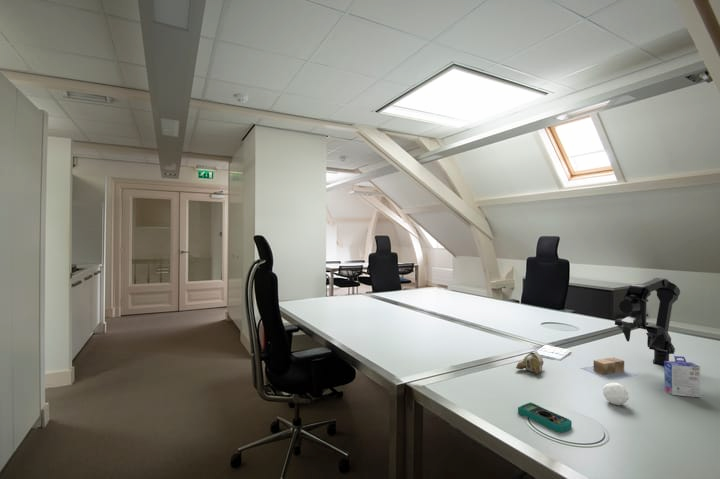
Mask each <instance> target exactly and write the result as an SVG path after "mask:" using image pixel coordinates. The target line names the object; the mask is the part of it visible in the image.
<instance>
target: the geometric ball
mask: <svg viewBox="0 0 720 479" xmlns="http://www.w3.org/2000/svg"><path fill="white" fill-rule="evenodd" d="M602 394H603V396H604V398H605V400H606V401H607V402H609V403H611V404H612V405H615V406H621V405H622V406H623V405H625V404H626V403H627V402H628V401H629V398H630V397H629V392H628V391H627V389H626V388H625V386H623V385H622V384H620V383H618V382H609V383H607V384H605V385H604V386H603V388H602Z"/></svg>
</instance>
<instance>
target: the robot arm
mask: <svg viewBox="0 0 720 479" xmlns="http://www.w3.org/2000/svg"><path fill="white" fill-rule="evenodd" d="M651 292H656V296H657V298H658V300H659V306H658V310H657V316H656V324H655V325H649V322H647V317H649V314H648V313H647V302H649V299H648V297H650V296H651V295H652V293H651ZM680 293H681V289H680V288H679V287H678V286H677V285H676V283H673V282H671V281H669V280H668V279H667V278H663V277H654V278H653V279H651V280H648V281H645V282H643V283H632V284H630V285H629V286H628V288H627V290H626V292H625V294H624V297H623V300H622V301H620V302H619V305H618V306H619V309H620V311H621V312H623V313H624V314H628V316H626V317H624V318H616V319H615V320H614V325H615V326H617V328H618V329H621V331H622V332H623V334H624V337H625V339H626V342H630V339H631V333H632V332H631V331H632V329H633V330H634V329H635V328H637V329H641V330H646V331H647V332H646V333H645V334H646V336H647V343H646V344H647V348H648V350H653V351H654V352H653V353H654V354H653V359H652V363H653V365H654V364H655V365H660V366H661V365H662V366H664V361H670V355H674V354H675V352H676V348H675V346H674V345H673V343H672V338H671V336H670V334H669V327H670V322H671V315H672V309H673V304H674V303H675V302H676V301H678V300H679V297H680Z"/></svg>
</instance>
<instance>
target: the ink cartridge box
mask: <svg viewBox="0 0 720 479" xmlns="http://www.w3.org/2000/svg"><path fill="white" fill-rule="evenodd" d="M673 356H674V361H672V360H669V361H664V365H663V367H664V370H663V373H664V391H666V392H667V393H668V394H670V395H671V396H681V397H682V396H683V397H693V398H701V366H700V365H697V364H696V363H693V362H688V361H687V360H686V358H685V356H681V355H680V356H679V355H678V356H677V355H673Z"/></svg>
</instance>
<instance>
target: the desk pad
mask: <svg viewBox="0 0 720 479" xmlns="http://www.w3.org/2000/svg"><path fill="white" fill-rule="evenodd" d="M581 369H582V370H583V371H586V372H589V373H592V374H593V375H597V376H599V377H602V378H604V379H606V380H610V381H611V380H616V379H621V378H627V377H633V376H638V374H637V373H634V372H631V371H628V370H625V369H624V372H619V373H613V374H607V375H603V374H600V373H598V372H595V371H593V370H594V365H593V366H586V367H580V370H581Z"/></svg>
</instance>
